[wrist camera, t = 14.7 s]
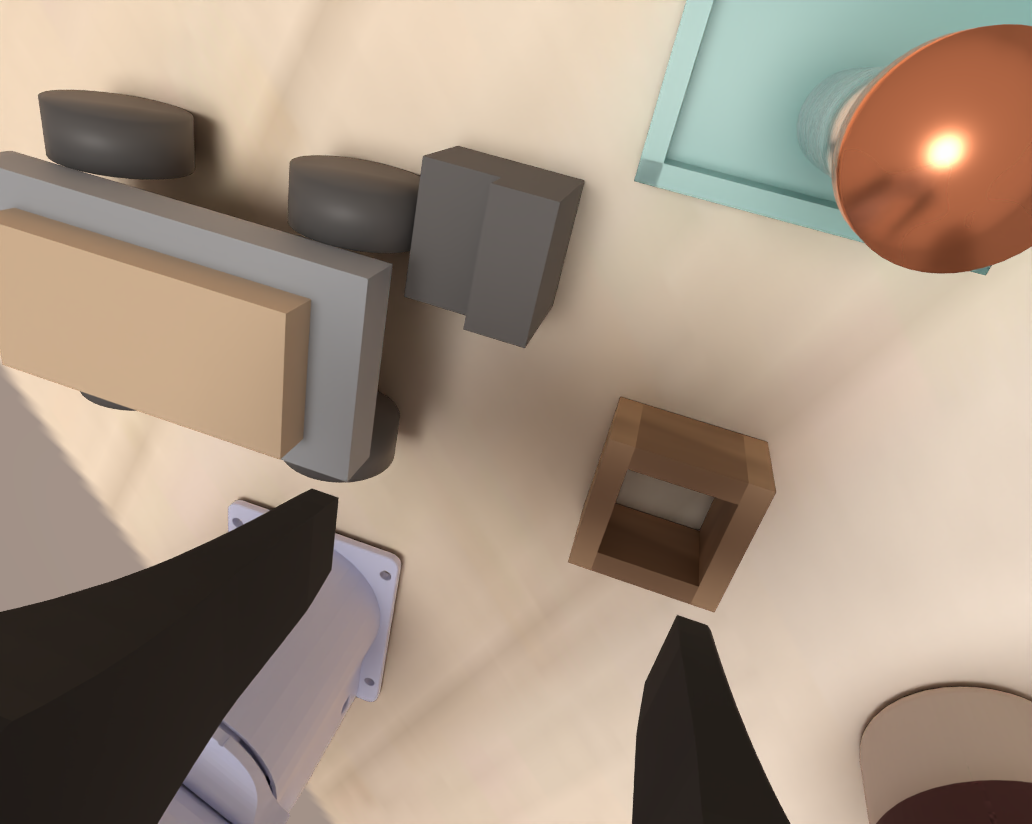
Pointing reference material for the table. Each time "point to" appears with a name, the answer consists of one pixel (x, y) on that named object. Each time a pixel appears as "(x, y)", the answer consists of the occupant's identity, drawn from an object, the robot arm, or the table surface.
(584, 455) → the table surface
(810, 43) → the tray
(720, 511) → the pin socket
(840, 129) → the pin
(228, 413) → the trolley
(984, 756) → the coffee cup
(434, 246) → the block
